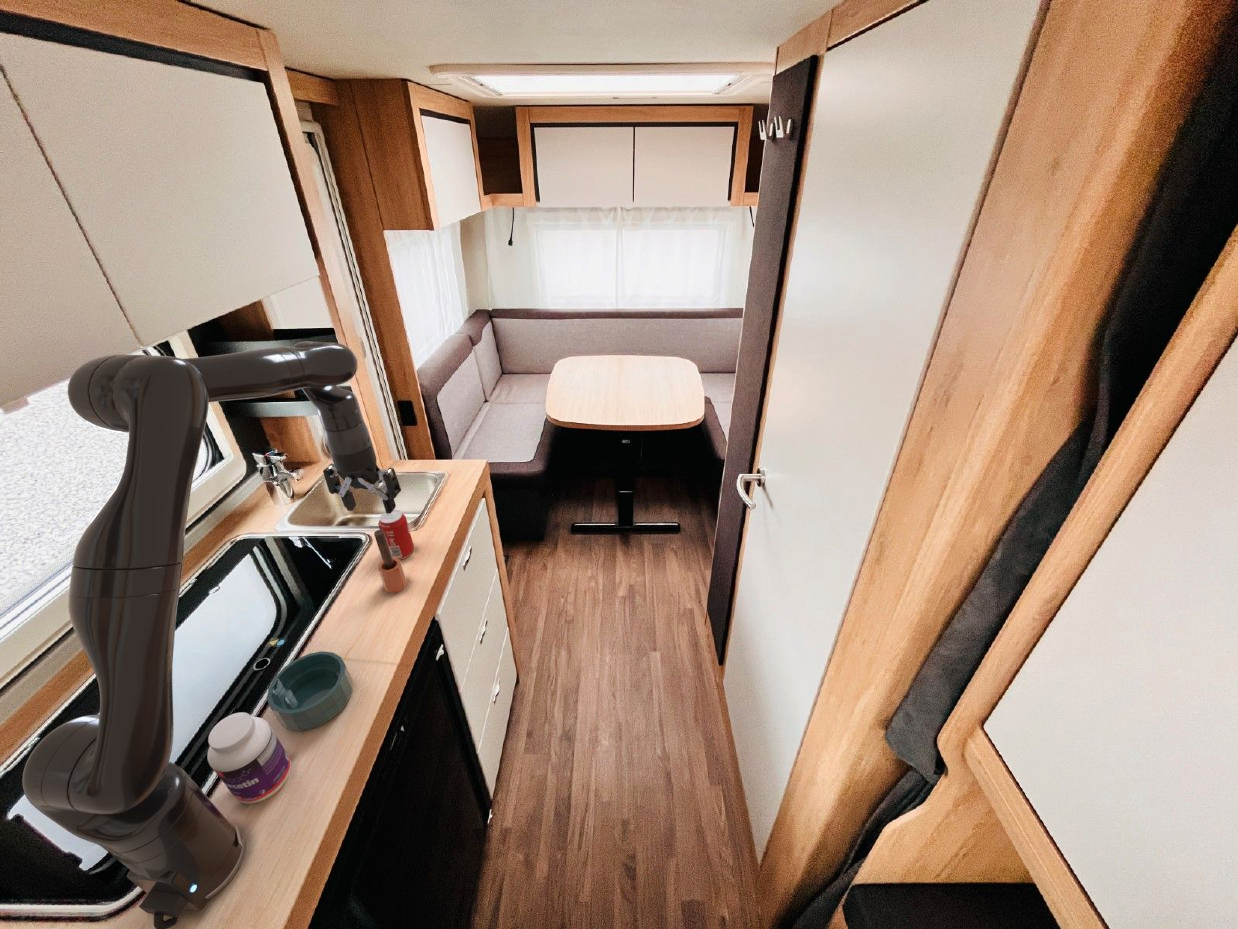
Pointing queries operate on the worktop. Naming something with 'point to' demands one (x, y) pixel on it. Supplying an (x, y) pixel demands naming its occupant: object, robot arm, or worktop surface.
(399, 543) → the beverage can
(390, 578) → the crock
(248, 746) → the pill bottle
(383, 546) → the cooking stick
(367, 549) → the worktop surface
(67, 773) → the robot arm
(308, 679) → the bowl
